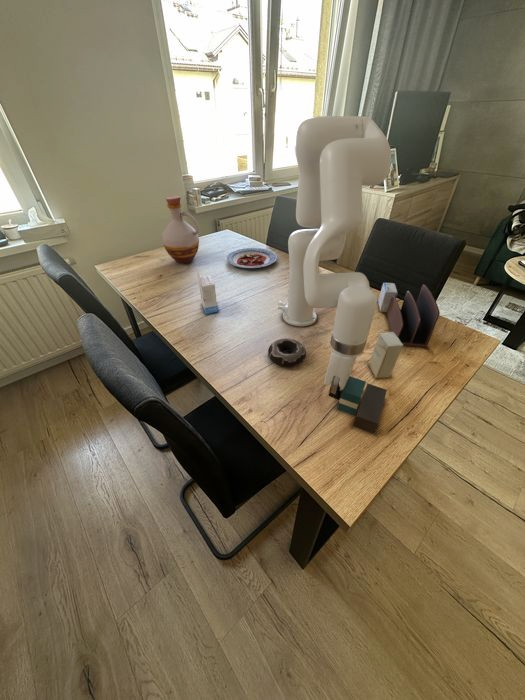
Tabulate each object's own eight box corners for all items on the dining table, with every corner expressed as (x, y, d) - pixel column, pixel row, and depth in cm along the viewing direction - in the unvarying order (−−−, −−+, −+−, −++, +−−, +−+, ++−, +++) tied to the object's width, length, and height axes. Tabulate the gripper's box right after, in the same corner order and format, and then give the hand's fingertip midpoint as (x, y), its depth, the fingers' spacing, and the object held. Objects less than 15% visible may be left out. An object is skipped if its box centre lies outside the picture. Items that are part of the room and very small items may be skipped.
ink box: (218, 312, 111) (214, 276, 101) (205, 314, 109) (200, 278, 100) (213, 301, 117) (209, 267, 107) (201, 304, 116) (196, 269, 106)
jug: (210, 255, 155) (202, 193, 135) (196, 269, 141) (186, 202, 122) (176, 252, 158) (164, 191, 139) (160, 265, 145) (144, 200, 126)
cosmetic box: (368, 364, 87) (378, 331, 80) (382, 363, 88) (393, 331, 80) (376, 378, 83) (387, 346, 75) (391, 377, 83) (404, 345, 75)
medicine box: (391, 313, 109) (398, 292, 104) (379, 312, 110) (385, 291, 105) (389, 302, 115) (395, 283, 110) (377, 301, 116) (383, 282, 111)
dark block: (353, 426, 70) (356, 415, 68) (364, 393, 78) (367, 383, 76) (374, 434, 68) (378, 424, 66) (383, 399, 77) (387, 389, 74)
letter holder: (413, 315, 108) (426, 281, 99) (426, 348, 93) (443, 311, 84) (385, 313, 110) (396, 278, 101) (394, 344, 95) (407, 307, 86)
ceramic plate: (277, 271, 139) (277, 265, 137) (224, 271, 139) (223, 265, 137) (276, 251, 158) (276, 246, 156) (229, 251, 159) (229, 246, 157)
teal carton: (344, 417, 75) (326, 395, 73) (350, 401, 79) (333, 380, 77) (371, 412, 69) (352, 388, 68) (376, 395, 73) (358, 372, 72)
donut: (269, 344, 95) (269, 334, 93) (305, 346, 94) (306, 336, 92) (266, 368, 86) (266, 358, 84) (305, 371, 85) (306, 361, 83)
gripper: (340, 320, 70) (330, 373, 82) (320, 355, 60) (311, 410, 72) (372, 328, 68) (356, 382, 79) (356, 367, 58) (341, 422, 69)
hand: (335, 396), depth 76 cm, fingers closed
